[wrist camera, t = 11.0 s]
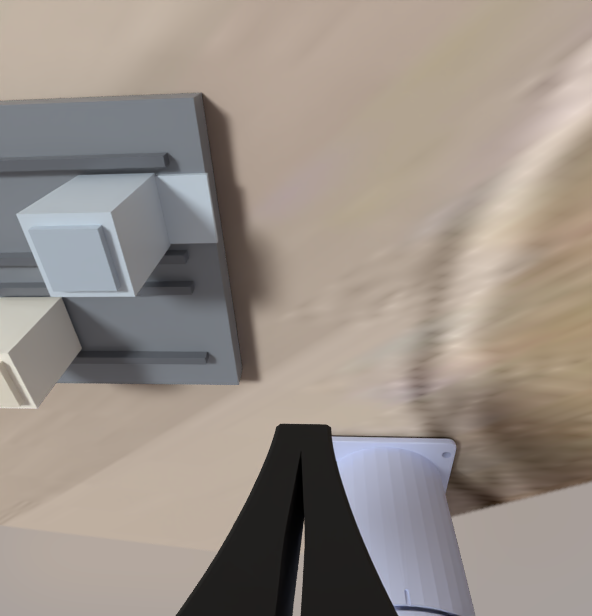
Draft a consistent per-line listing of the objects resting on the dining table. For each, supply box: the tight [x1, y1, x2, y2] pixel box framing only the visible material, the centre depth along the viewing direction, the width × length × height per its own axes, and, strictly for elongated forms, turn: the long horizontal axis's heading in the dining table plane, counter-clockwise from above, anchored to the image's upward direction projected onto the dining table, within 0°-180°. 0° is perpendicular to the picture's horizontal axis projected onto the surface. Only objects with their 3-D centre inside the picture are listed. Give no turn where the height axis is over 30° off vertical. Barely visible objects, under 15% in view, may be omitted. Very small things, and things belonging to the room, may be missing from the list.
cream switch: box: [0, 297, 82, 409], centre depth 19 cm, size 3×3×4 cm
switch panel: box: [0, 93, 242, 385], centre depth 20 cm, size 14×13×2 cm
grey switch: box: [16, 173, 171, 297], centre depth 16 cm, size 3×3×4 cm
